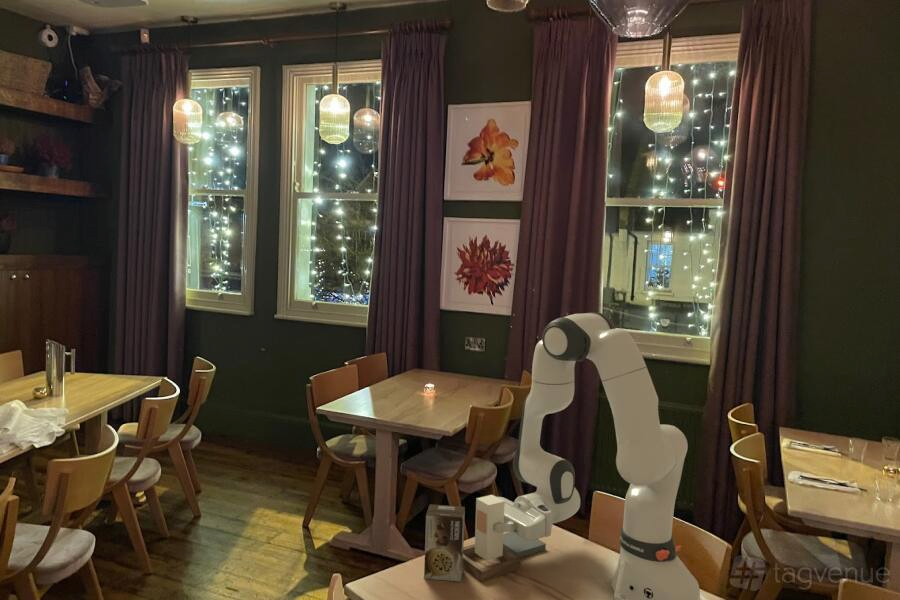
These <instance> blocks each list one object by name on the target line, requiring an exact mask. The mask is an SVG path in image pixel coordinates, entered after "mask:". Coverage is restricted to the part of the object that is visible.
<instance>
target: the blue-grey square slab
mask: <svg viewBox="0 0 900 600" xmlns="http://www.w3.org/2000/svg"><path fill="white" fill-rule="evenodd" d="M546 545H547V543H546V542H544V541H542V540H540V539H536V540H525V539H523V538H522V537H520V536H518V535H516V534H515V533H513V532H505V533H503V548H504V549H506V550H507V551H509V552H510V553H512V554H513V555H515V556H516V557H518V558H522V557H526V556H529V555H531V554H534V553H538V552H541V551H544V550H546V547H547V546H546Z"/></svg>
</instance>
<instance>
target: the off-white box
mask: <svg viewBox="0 0 900 600" xmlns="http://www.w3.org/2000/svg"><path fill="white" fill-rule="evenodd" d="M497 497H498V496H496V495H494V494H489V495H484V496H480V497H476V498H475V499H476V500H475V527H474V528H475V531H474V544H475V553H476V554H478V555H477V556H479V557H480V558H482V559H484V560H485V561H491V560H493V559H496V558H497V559H498V557H500V556H503V534H504V532H499V533H497V532H496V531H494V530H493V528H494V527H493V525H494V524H495V523H504V505H505V501H503V500H501V499H499V498H497Z"/></svg>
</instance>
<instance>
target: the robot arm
mask: <svg viewBox="0 0 900 600" xmlns="http://www.w3.org/2000/svg"><path fill="white" fill-rule="evenodd" d="M585 359H588V360H590V361H591V362H593V364H594V365H595V367H596V369H597V371H598V374H599V378H600V380H601V383H602V386H603V389H604V392H605V394H606V397H607V400H608V402H609V403H608V404H609V407H610V408H611V413H612V418H613V422H614V429H615V437H616V446H617V447H616V448H617V452H616V456H615V457H616V458H615V465H616V468H617V471H618V473H619V475H620V477H621V478H622V479H623V480H624V481H625V482H627V483H629V487H628V489H627V492H626V494H625V497H624V498H625V499H624V510H623V522H622V523H623V526H622V527H621V528H620V537H619V545H620V552H619V558H618V562H617V566H616V570H615V573H614V576H613V579H612V580H611V589H612V591H613V600H702V599H701V591H700V586H699V582H698V581H697V579H696V578H695V577H694V575H693V573H692V572H690V571H689V569H688V568H687V566H686V565H685V564H684V562H683V561H682V560H681V559H680V558H679V556H678V552H679V551H681V550H682V548H681V547H682V545H681V544H679V545H676V544H675V541H674V536H673V535H672V533H673V523H674V522H673V521H674V512H675V504H676V499H677V494H678V490H679V487H680V483H681V478H682V475H683V473H682V472H683V468H684V463H685V458H686V456H687V452H688V448H689V447H688V446H689V445H688V440H687V438H686V436H685V434H684V432H682V430H680V429H679V428H678V427H677V426H674V425H671V424H664V423H663V424H660V423H661V422H660V416H659V397H658V394H657V391H656V388H655V386H654V383H653V380H652V377H651V375H650V373H649V370H648V367H647V365H646V362H645V359H644V357H643V356H642V353H641V350H640V348H639V347H638V345H637V344H636V342H635V340H634V339H633V337H632V336H631V334H630V333H629V331H627V330H625V329H621V328H617V327H616V326H615V323H614V321H613V320H612V319H611V317H610V316H608V315H607V314H604V313H601V312H598V311H593V312H592V311H591V312H587V313H586V312H585V313H573V314H570V315H566V316H564V317H563V316H562V317H558V318H556V319H554V320H552V321H551V322H549V323H548V324H547V325H546V326H545V327H544V329H543V332H542V336H541V340H539V341H538V342H537V343H536V345H535V349H534V353H533V359H532V366H531V367H532V368H531V387H530V392H529V393H528V394H527V395H526V396H525V398H524V400H523V404H522V410H521V417H520V425H519V431H518V432H519V433H518V441H517V447H516V451H515V454H514V457H513V462H512V469H513V473H514V476H515V477H516V479H518V480H519V481H520V482H523V483H526V484H529V485H531V486H534V487H536V491H535V492H534V491H533V492H532V493H527V494H524V495H519V496H517V497H516V498H515V500H514V501H512V500H509V499H508V498H506V497H502V496H496V497H497V498H499V499H501V500H503V501H505V505H504V523H495V524H494V525H493V527H494V528H493V530H494V531H496V532H497V533H499V532H503V533H509V532H513V533H515V534H516V535H518V536H520V537H522V538H523V539H525V540H536V539H538V540H540V539H542V538H546V537H547V538H548V537H551V535H552V529H553V528H552V527H553V524H557V523H560V522H562V521H565V520H568V519H569V518H571V517H573V516H574V515H575V514H576V513H577V512H578V511H579V509H580V507H581V497H580V493H579V491H578V490H577V488H576V487H575V485H576V481H575V480H576V476H575V475H576V474H575V469H574V467H573V465H572V463H571V462H570V461H569V460H567V459H565V458H562V457H561V456H557V455H555V454H552V453H549V452H547V451H545V450H544V449H543V448H542V447H541V443H540V441H541V434H542V427H543V420H544V418H545V416H546V415H549V414H555V413H558V412H561V411H563V410H565V409H566V408H568V406H570V404H572V402H573V400H574V395H575V366H576V365H575V364H576V362H583V361H584V360H585Z"/></svg>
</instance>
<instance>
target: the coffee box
mask: <svg viewBox="0 0 900 600" xmlns="http://www.w3.org/2000/svg"><path fill="white" fill-rule="evenodd" d="M465 513H466V507H465V506H460V505H459V506H458V505H457V506H456V505H445V504H432V503H430V504H429V505H428V507H427V511H426V513H425V544H424V565H423V566H424V570H423V579H424V580H427V579H428V580H436V581H437V580H438V581H447V582H449V581H450V582H462V578H463V577H462V576H463V569H464V568H463V547H464V541H465V539H464V537H465V516H466V514H465Z"/></svg>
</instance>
